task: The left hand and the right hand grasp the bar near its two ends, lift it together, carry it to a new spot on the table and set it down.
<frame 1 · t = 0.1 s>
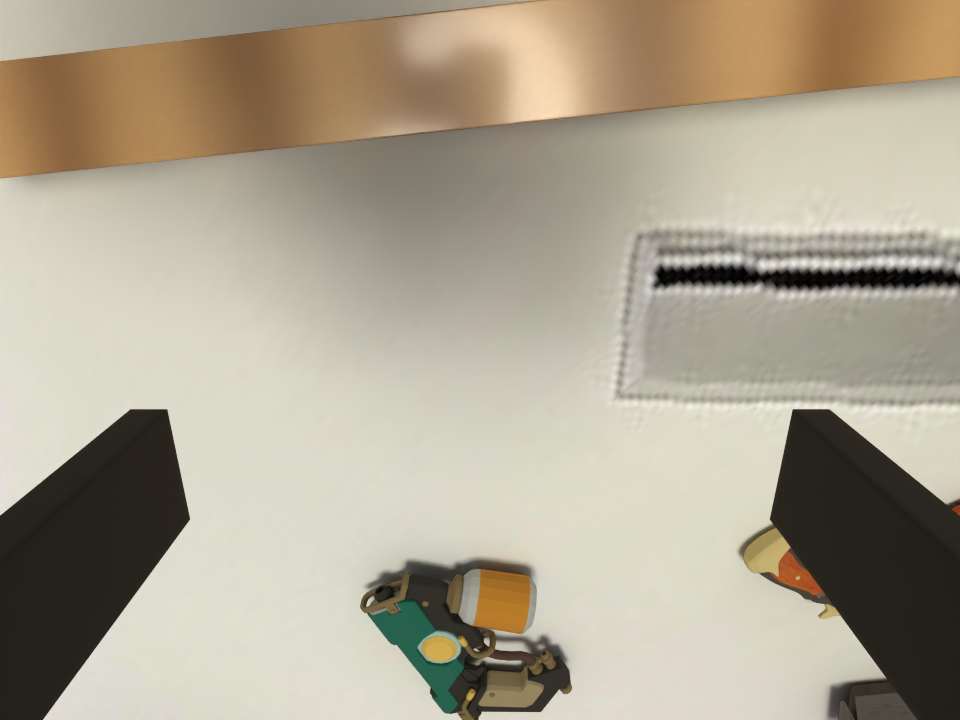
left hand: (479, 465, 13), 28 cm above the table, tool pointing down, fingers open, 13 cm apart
spray gun: (471, 630, 51), on the table
bar: (609, 67, 35), on the table
toy gun: (870, 532, 47), on the table
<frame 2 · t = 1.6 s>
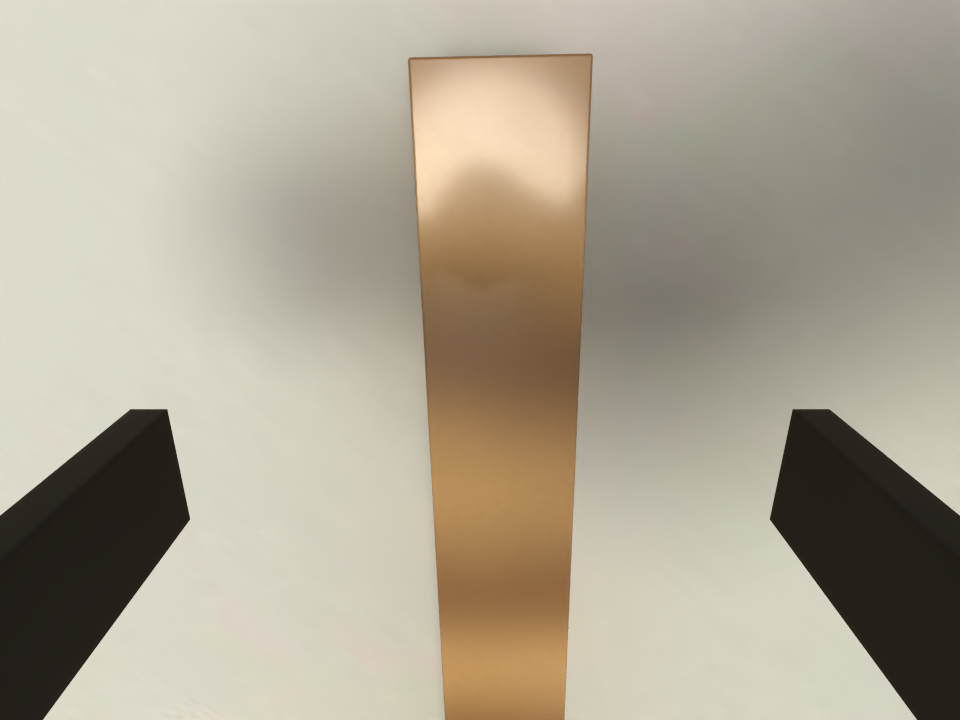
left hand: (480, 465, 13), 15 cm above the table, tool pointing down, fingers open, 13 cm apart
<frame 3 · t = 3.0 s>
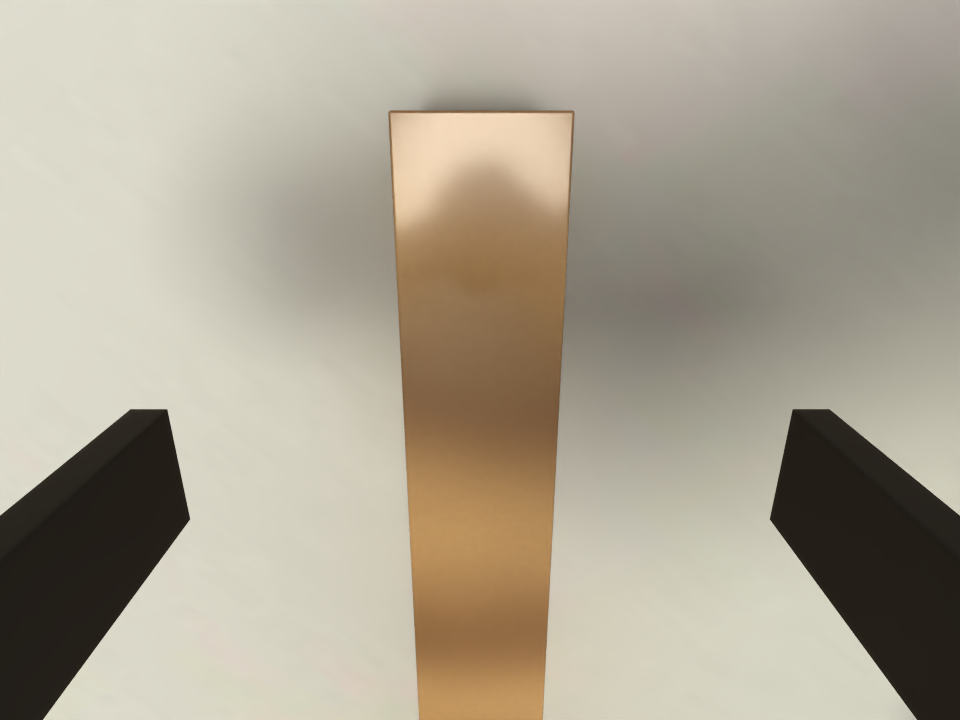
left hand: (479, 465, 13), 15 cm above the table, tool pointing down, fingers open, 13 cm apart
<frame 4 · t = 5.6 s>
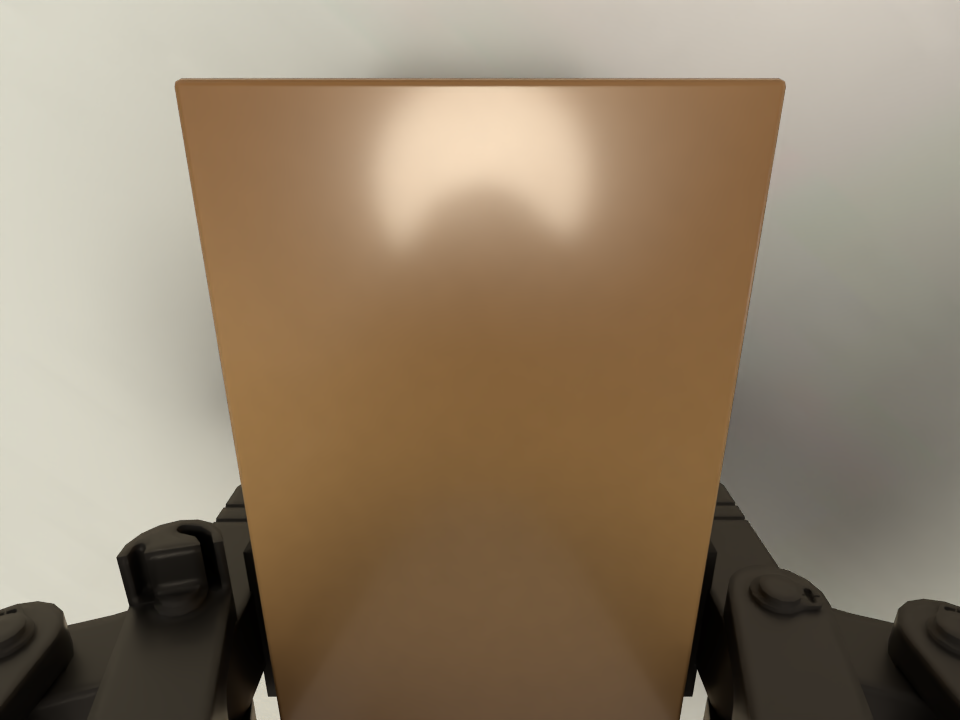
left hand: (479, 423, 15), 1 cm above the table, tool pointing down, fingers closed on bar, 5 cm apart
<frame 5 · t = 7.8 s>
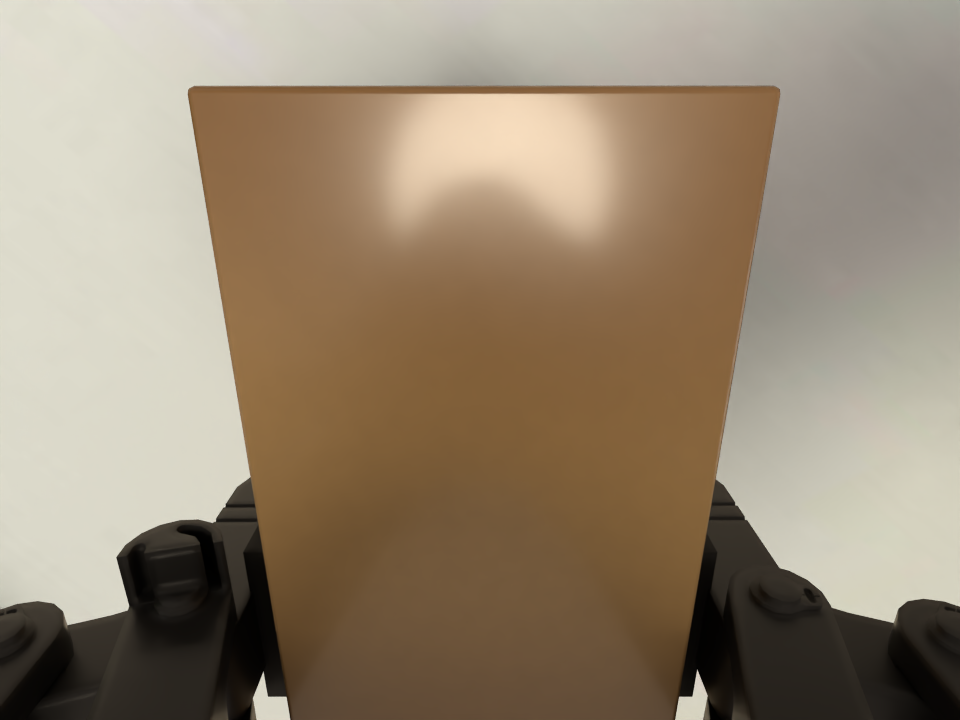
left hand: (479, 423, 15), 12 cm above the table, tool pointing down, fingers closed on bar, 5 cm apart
when the left hand's fingers open (2 cm above the table, at t = 10.2 s): bar drops 1 cm, on the table.
when the right hand's fingers open (5 cm above the table, at t = 10.4 s): bar stays where it is, on the table.
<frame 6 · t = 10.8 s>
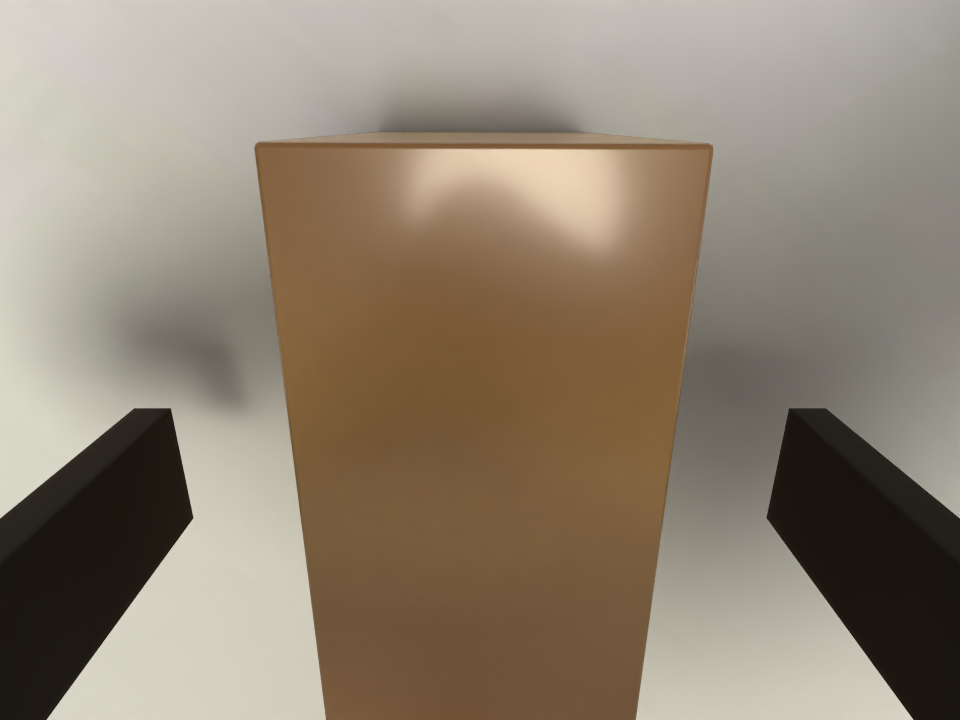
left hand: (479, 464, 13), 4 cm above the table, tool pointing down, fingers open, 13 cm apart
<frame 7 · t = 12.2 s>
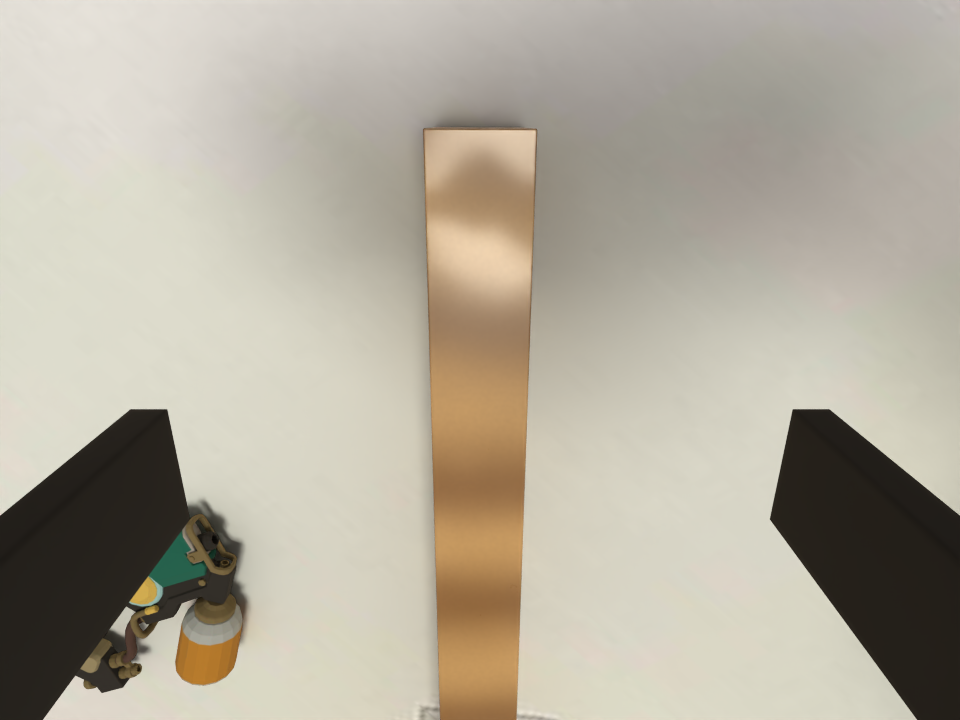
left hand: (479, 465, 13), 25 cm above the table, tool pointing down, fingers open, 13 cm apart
spray gun: (150, 589, 46), on the table
bar: (478, 623, 47), on the table
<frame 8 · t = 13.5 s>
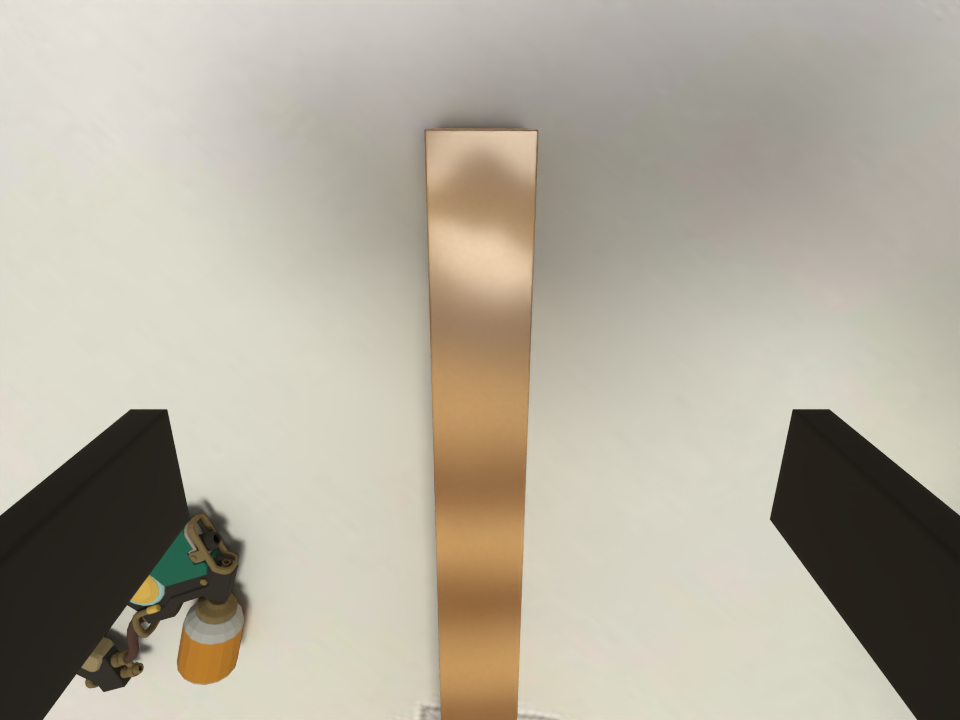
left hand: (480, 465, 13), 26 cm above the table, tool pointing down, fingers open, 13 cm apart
spray gun: (151, 589, 46), on the table
bar: (479, 623, 48), on the table
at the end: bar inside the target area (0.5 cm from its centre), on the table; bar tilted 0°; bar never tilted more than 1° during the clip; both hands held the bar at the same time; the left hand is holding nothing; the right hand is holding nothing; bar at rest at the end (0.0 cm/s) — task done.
